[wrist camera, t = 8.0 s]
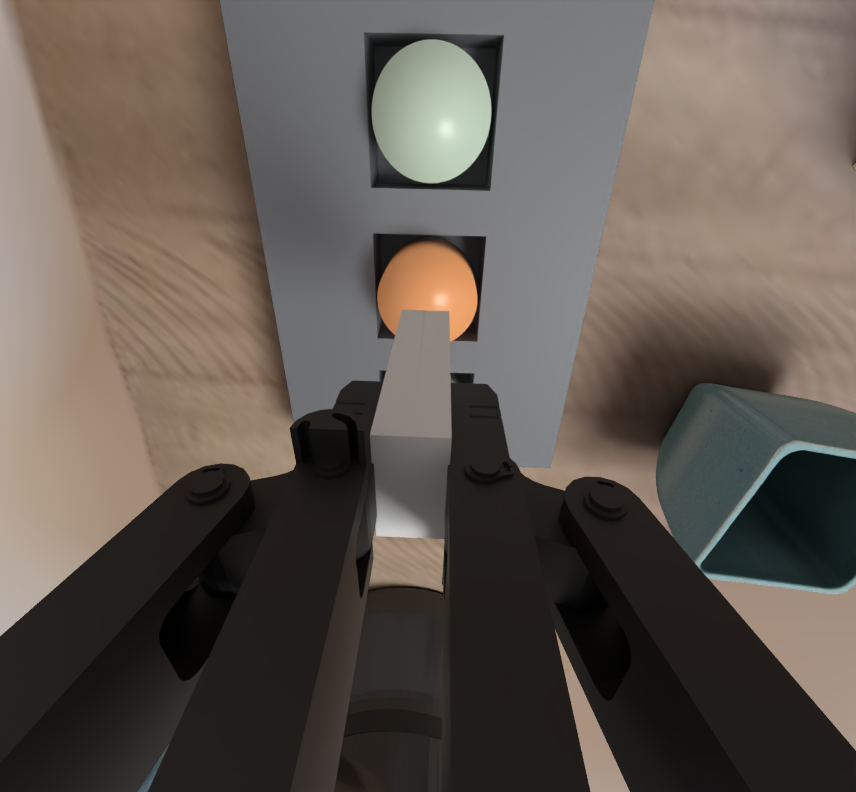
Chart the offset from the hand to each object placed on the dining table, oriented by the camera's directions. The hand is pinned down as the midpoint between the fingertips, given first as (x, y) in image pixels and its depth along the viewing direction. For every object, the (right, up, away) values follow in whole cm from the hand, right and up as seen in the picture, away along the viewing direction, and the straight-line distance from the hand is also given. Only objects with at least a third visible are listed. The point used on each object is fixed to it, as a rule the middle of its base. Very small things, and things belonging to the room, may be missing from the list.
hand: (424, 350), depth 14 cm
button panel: (0, +5, +9) cm, 10 cm away
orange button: (0, +4, +7) cm, 8 cm away
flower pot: (+18, -3, +14) cm, 23 cm away
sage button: (0, +10, +4) cm, 11 cm away
